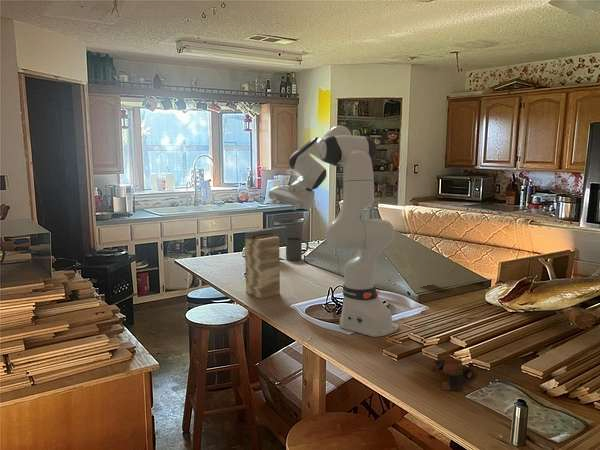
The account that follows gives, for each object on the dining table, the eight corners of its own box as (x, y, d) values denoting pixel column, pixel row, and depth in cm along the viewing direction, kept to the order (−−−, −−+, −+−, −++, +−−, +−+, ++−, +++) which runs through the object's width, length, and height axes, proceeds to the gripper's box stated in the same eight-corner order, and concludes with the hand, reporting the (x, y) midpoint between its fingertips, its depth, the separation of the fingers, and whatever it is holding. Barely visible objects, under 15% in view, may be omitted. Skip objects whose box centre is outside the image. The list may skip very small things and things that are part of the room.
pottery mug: (431, 391, 131) (428, 359, 134) (440, 392, 139) (437, 362, 142) (476, 389, 126) (472, 357, 129) (483, 390, 134) (479, 360, 137)
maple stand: (279, 294, 215) (279, 234, 210) (261, 298, 208) (260, 237, 204) (264, 288, 224) (263, 231, 219) (246, 292, 218) (244, 233, 213)
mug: (288, 261, 275) (288, 240, 273) (284, 257, 284) (283, 237, 282) (311, 259, 279) (311, 239, 277) (306, 256, 288) (306, 236, 286)
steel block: (287, 233, 219) (287, 227, 218) (248, 239, 206) (248, 232, 205) (283, 232, 221) (283, 226, 221) (244, 238, 208) (244, 231, 207)
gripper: (276, 180, 220) (262, 192, 209) (317, 192, 214) (305, 205, 203) (275, 192, 224) (262, 205, 213) (316, 204, 217) (304, 218, 206)
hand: (283, 205), depth 208 cm, fingers open, 8 cm apart
